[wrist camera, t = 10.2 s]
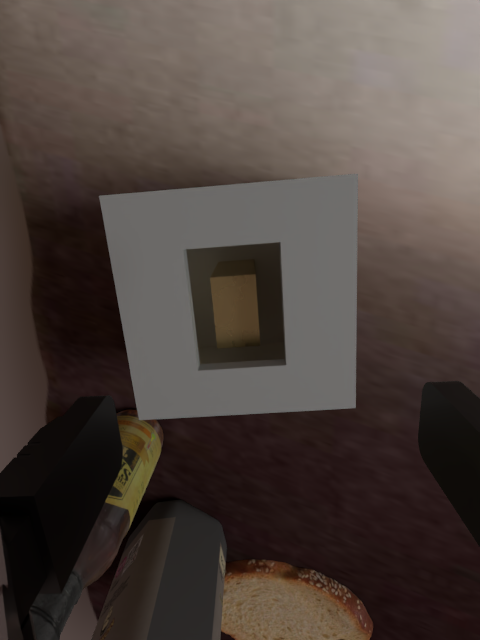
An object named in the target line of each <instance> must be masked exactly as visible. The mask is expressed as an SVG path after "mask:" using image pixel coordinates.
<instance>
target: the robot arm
mask: <svg viewBox="0 0 480 640" xmlns="http://www.w3.org/2000/svg"><path fill="white" fill-rule="evenodd" d="M418 442H419V449H420V453H421V456H422V458H423V460H424V462H425V464H426V465H427V467H428V468H429V470H430V472H431V473H432V475H433V476H434V478H435V479H436V481H437V482H438V484H439V485H440V487H441V488H442V490H443V491H444V493H445V494H446V496H447V498H448V499H449V501H450V502H451V504H452V505H453V507H454V508H455V510H456V511H457V513H458V514H459V516H460V517H461V519H462V521H463V522H464V524H465V525H466V527H467V528H468V530H469V531H470V533H471V534H472V536H473V537H474V539H475V540H476V542H477V543H478V545H479V547H480V398H479V397H478V396H476V395H475V394H474V393H473V392H472V391H471V390H470V389H468V388H467V387H466V386H465V385H464V384H463V383H461V382H459V381H448V382H428V383H426V384H425V385H424V387H423V391H422V401H421V411H420V422H419V433H418ZM122 459H123V447H122V441H121V436H120V431H119V425H118V420H117V414H116V409H115V404H114V401H113V399H112V397H111V396H89V397H80V398H78V399H77V401H76V402H75V403H74V404H73V405H72V406H71V408H70V409H69V410H68V411H67V412H66V413H65V415H64V416H63V417H58V418H56V419H55V420H53V421H52V422H50V423H49V424H47V425H45V426H44V427H42V428H41V429H40V430H39V431H38V432H37V433H36V434H35V435H34V436H33V438H32V439H31V440H30V441H29V442H28V445H27V446H24V447H23V449H22V450H21V451H20V452H19V453H18V454H17V458H14V459H13V460H12V461H11V462H10V463H9V464H8V465H7V466H6V467H5V468H4V470H3V471H2V472H1V473H0V640H37V638H36V633H35V628H34V623H33V618H32V615H31V612H30V608H31V606H32V605H33V603H34V601H35V599H36V597H37V595H38V594H61V593H62V591H63V589H64V587H65V585H66V583H67V581H68V579H69V577H70V575H71V572H72V570H73V568H74V566H75V564H76V562H77V560H78V558H79V556H80V554H81V551H82V549H83V547H84V545H85V543H86V541H87V539H88V537H89V535H90V533H91V531H92V528H93V526H94V524H95V522H96V520H97V518H98V516H99V514H100V512H101V510H102V507H103V505H104V503H105V501H106V499H107V497H108V495H109V493H110V491H111V489H112V486H113V484H114V482H115V480H116V478H117V476H118V474H119V472H120V469H121V465H122Z"/></svg>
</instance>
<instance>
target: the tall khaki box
mask: <svg viewBox="0 0 480 640" xmlns="http://www.w3.org/2000/svg"><path fill="white" fill-rule="evenodd" d="M210 283H211V292H212V302H213V312H214V321H215V331H216V340H217V348H232V347H248V346H260V332H259V317H258V303H257V288H256V273H255V259H248V260H235V261H222V262H218V264H217V266H216V267H215V269H214V271H213V273H212V275H211V277H210Z"/></svg>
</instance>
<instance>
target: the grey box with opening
mask: <svg viewBox="0 0 480 640" xmlns="http://www.w3.org/2000/svg"><path fill="white" fill-rule="evenodd" d="M99 199H100V204H101V210H102V215H103V221H104V227H105V232H106V238H107V243H108V249H109V255H110V260H111V266H112V271H113V277H114V283H115V288H116V294H117V299H118V305H119V311H120V316H121V322H122V328H123V333H124V339H125V344H126V350H127V356H128V361H129V367H130V372H131V378H132V384H133V389H134V395H135V400H136V406H137V412H138V417H139V420H152V419H170V418H188V417H205V416H223V415H241V414H259V413H276V412H294V411H312V410H330V409H347V408H356V312H357V211H358V174H348V175H336V176H325V177H313V178H301V179H290V180H278V181H266V182H255V183H243V184H231V185H220V186H208V187H196V188H185V189H173V190H161V191H150V192H138V193H126V194H115V195H103V196H99ZM248 259H255V273H256V288H257V303H258V317H259V332H260V346H248V347H232V348H217V340H216V331H215V321H214V312H213V302H212V292H211V283H210V277H211V275H212V273H213V271H214V269H215V267H216V266H217V264H218V262H222V261H235V260H248Z"/></svg>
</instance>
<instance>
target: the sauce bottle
mask: <svg viewBox="0 0 480 640" xmlns="http://www.w3.org/2000/svg"><path fill="white" fill-rule="evenodd" d="M116 414H117V420H118V425H119V431H120V436H121V441H122V447H123V459H122V465H121V469H120V472H119V474H118V476H117V478H116V480H115V482H114V484H113V486H112V489H111V491H110V493H109V495H108V497H107V499H106V501H105V503H104V505H103V507H102V510H101V512H100V514H99V516H98V518H97V520H96V522H95V524H94V526H93V528H92V531H91V533H90V535H89V537H88V539H87V541H86V543H85V545H84V547H83V549H82V551H81V554H80V556H79V558H78V560H77V562H76V564H75V566H74V568H73V570H72V572H71V575H70V577H69V579H68V581H67V583H66V585H65V587H64V589H63V591H62V593H61V594H38V595H37V597H36V599H35V601H34V603H33V605H32V606H31V608H30V612H31V615H32V618H33V623H34V628H35V633H36V638H37V640H59V638H60V634H61V632H62V630H63V628H64V626H65V623H66V621H67V619H68V617H69V615H70V614H71V611H72V609H73V607H74V605H75V604H76V603H77V601H78V599H79V598H80V595H81V592H82V590H83V589H84V588H85V587H86V586H89V585H90V584H91V583H93V582H94V581H96V580H97V579H99V578H100V577H101V576H102V574H103V573H104V572H105V571H106V570H107V569H108V568H109V567H110V566H111V564H112V562H113V561H114V559H115V557H116V555H117V553H118V550H119V547H120V545H121V542H122V540H123V538H124V537H125V536H126V534H127V532H128V530H129V528H130V526H131V523H132V521H133V518H134V516H135V514H136V511H137V509H138V506H139V504H140V501H141V499H142V497H143V494H144V492H145V489H146V487H147V485H148V482H149V480H150V478H151V475H152V473H153V471H154V468H155V466H156V463H157V461H158V459H159V456H160V453H161V447H162V444H163V431H162V428H161V426H160V424H159V423H158V422H157V420H155V419H152V420H139V417H138V412H137V410H132V409H128V410H124V411H121V412H119V413H116Z"/></svg>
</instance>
